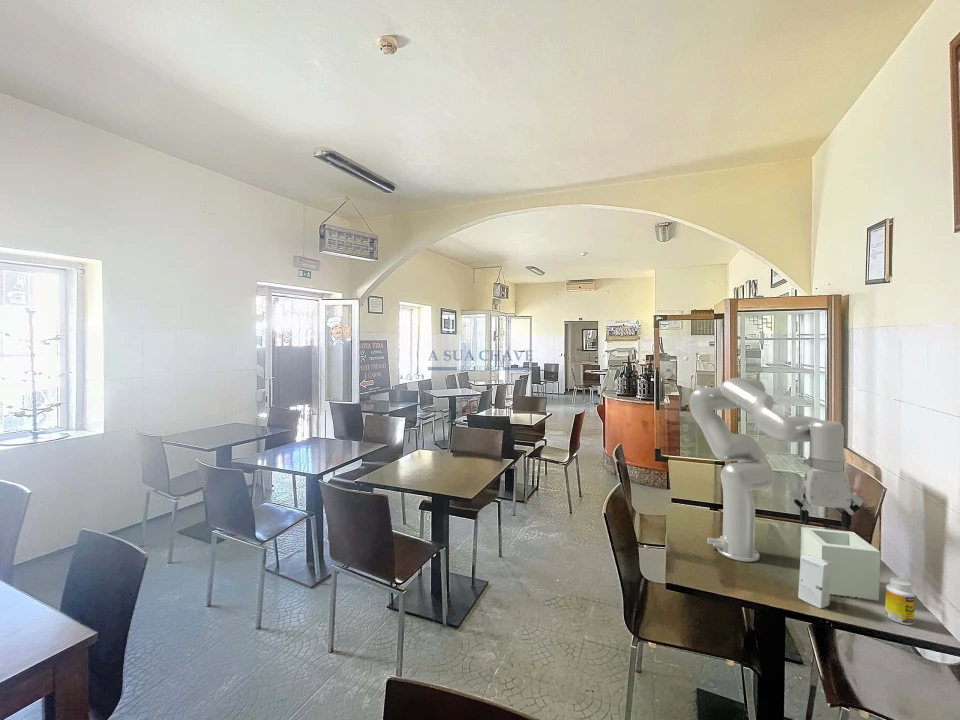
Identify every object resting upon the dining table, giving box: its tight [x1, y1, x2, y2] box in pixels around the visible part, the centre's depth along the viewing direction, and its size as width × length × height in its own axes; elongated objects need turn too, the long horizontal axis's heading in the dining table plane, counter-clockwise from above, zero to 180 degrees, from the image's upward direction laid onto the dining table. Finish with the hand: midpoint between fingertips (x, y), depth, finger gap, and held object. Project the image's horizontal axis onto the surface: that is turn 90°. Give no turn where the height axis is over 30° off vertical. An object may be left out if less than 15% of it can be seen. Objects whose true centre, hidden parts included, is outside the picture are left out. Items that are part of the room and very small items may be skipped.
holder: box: [799, 526, 881, 601], centre depth 133 cm, size 14×14×14 cm
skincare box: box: [797, 554, 832, 609], centre depth 123 cm, size 6×4×12 cm
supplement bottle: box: [884, 577, 916, 626], centre depth 116 cm, size 6×6×10 cm
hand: (824, 525), depth 124 cm, fingers open, 9 cm apart
